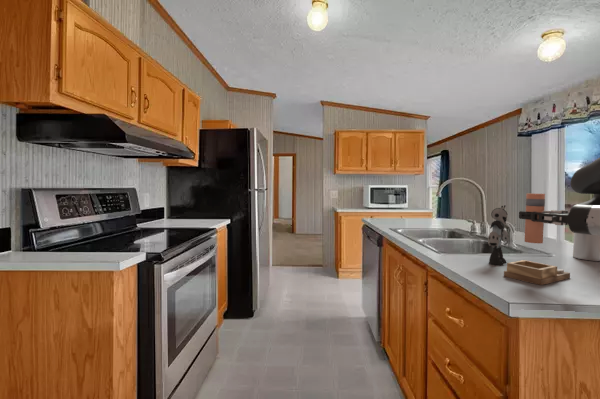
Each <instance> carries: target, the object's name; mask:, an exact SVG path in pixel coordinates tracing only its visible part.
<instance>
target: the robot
mask: <svg viewBox="0 0 600 399" xmlns="http://www.w3.org/2000/svg"><path fill="white" fill-rule="evenodd" d="M505 209H506V205H501V207H496V208H494V209H493V210H491V214H490V216H491V218H492V219H494V221H492V222H491V224H490V227H489V229H492V231H491V232H490V233H489V234H488V238H487V243H488V247H489V248H493V249H492V251H491V253H490V255H489V259H488V260H489V261H488V264H489V265H493V266H499V267H500V266H504V264H507V263H508V262H507V260H506V259H505V258H504V254H503V250H502V242H508V241H509V239H510V235H509V233H508V231H507V230H506V229H505V227H506V226H505V225H507V218H508V211H506V210H505Z"/></svg>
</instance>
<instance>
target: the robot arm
mask: <svg viewBox="0 0 600 399" xmlns="http://www.w3.org/2000/svg"><path fill="white" fill-rule="evenodd" d="M570 187H571V189H572V191H574V192H575V193H578V194H582V195H593V196H592V198H591V199H589V200H586V201H583V202H580V203H577V204H574V205H573V206H572V207H571V208H570V210H566V209H560V210H558V209H557V210H556V209H553V210H544V211H543V212H536V211H534V212H527V211H526V210H519V212H518V218H519V219H521V220H525V219H528V220H531V221H533V222H535V221H536V222H543V223H544V224H550V225H551V224H553V225H555V226H568V228H569V230H570V231H571V232H572V233H573V245H572V246H573V248H572V249H573V250H572V257H573V258H575V259H579V260H586V261H592V262H593V261H594V262H600V157H598V158H596V159H595V160H593V161H592V162H591V163H589V164H586V165H585V166H582V167H581V168H579V169H577V170H576V171H575V172H574V173H573V174H572V177H571V179H570ZM538 215H539V217H538Z"/></svg>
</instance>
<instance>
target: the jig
mask: <svg viewBox="0 0 600 399" xmlns="http://www.w3.org/2000/svg"><path fill="white" fill-rule="evenodd" d="M503 277H506V278H509V279H514V280H518V281H523V282H527V283H531V284H534V285H538V286H543V285H547V284H551V283H556V282H560V281H563V280H566V279H571V272H568V271H565V270H564V269H561V268H558V266H557V265H552V264H546V263H542V262H536V261H533V260H532V261H530V260H527V259H523V260H517V261H511V262H507V263H506V270H504V271H503Z"/></svg>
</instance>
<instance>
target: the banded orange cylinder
mask: <svg viewBox="0 0 600 399" xmlns="http://www.w3.org/2000/svg"><path fill="white" fill-rule="evenodd" d="M525 197H526V198H525V211H527V212H534V211H536V212H543V211H545V206H546V205H545V204H546V194H545V193H534V192H533V193H531V192H530V193H529V192H527V193H526V196H525ZM538 217H539V215H538ZM524 220H525V222H524V242H525V243H531V244H544V227H545V226H544V225H545V223H543V222H536V221H535V222H533V221H531V220H528V219H524Z"/></svg>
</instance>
